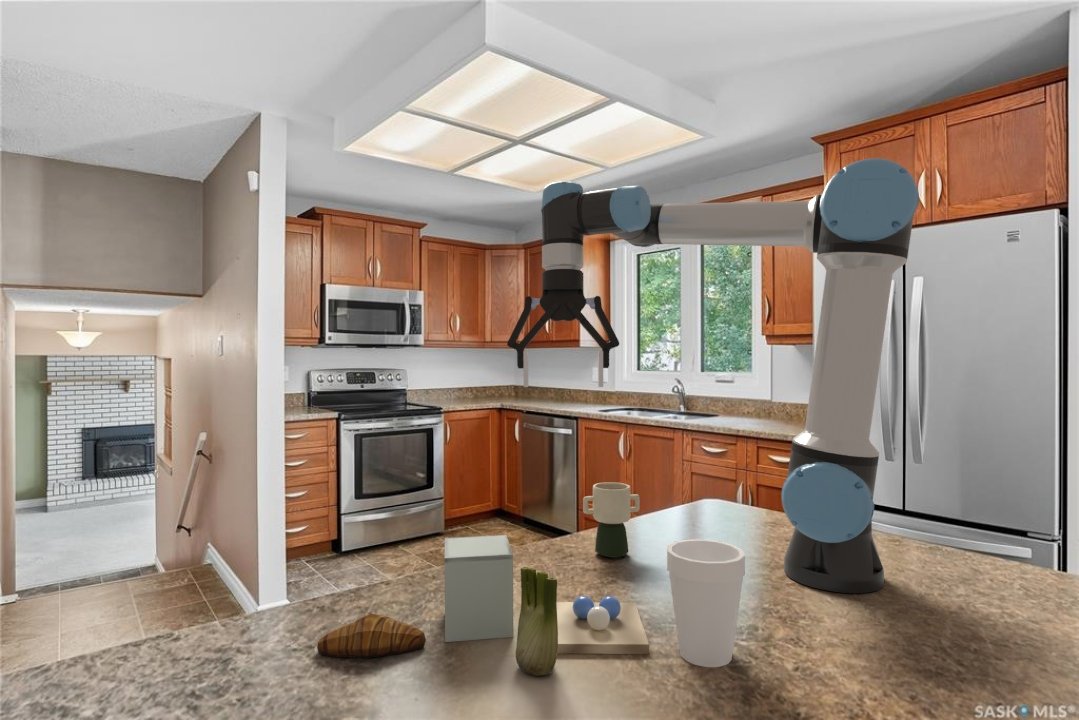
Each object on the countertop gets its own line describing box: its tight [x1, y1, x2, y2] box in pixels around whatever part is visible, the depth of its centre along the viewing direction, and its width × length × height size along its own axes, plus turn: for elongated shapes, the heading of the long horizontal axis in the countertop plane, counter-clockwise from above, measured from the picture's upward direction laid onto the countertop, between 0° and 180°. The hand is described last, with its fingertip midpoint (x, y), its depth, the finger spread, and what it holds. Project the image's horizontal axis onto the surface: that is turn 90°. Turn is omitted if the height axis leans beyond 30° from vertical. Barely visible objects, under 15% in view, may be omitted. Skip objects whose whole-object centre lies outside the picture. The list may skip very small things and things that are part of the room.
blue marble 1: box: [573, 595, 594, 619], centre depth 84 cm, size 3×3×3 cm
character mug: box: [582, 481, 641, 558], centre depth 114 cm, size 11×7×13 cm, turn 99°
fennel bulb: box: [515, 566, 558, 677], centre depth 73 cm, size 6×5×12 cm
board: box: [556, 601, 650, 655], centre depth 83 cm, size 16×13×1 cm
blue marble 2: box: [599, 595, 621, 619], centre depth 84 cm, size 3×3×3 cm
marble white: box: [587, 606, 610, 631], centre depth 81 cm, size 3×3×3 cm
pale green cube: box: [444, 534, 514, 643], centre depth 85 cm, size 9×9×11 cm
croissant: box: [316, 613, 427, 659], centre depth 78 cm, size 14×7×5 cm, turn 97°
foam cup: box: [666, 538, 746, 668], centre depth 76 cm, size 10×9×13 cm
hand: (563, 386), depth 111 cm, fingers open, 13 cm apart
